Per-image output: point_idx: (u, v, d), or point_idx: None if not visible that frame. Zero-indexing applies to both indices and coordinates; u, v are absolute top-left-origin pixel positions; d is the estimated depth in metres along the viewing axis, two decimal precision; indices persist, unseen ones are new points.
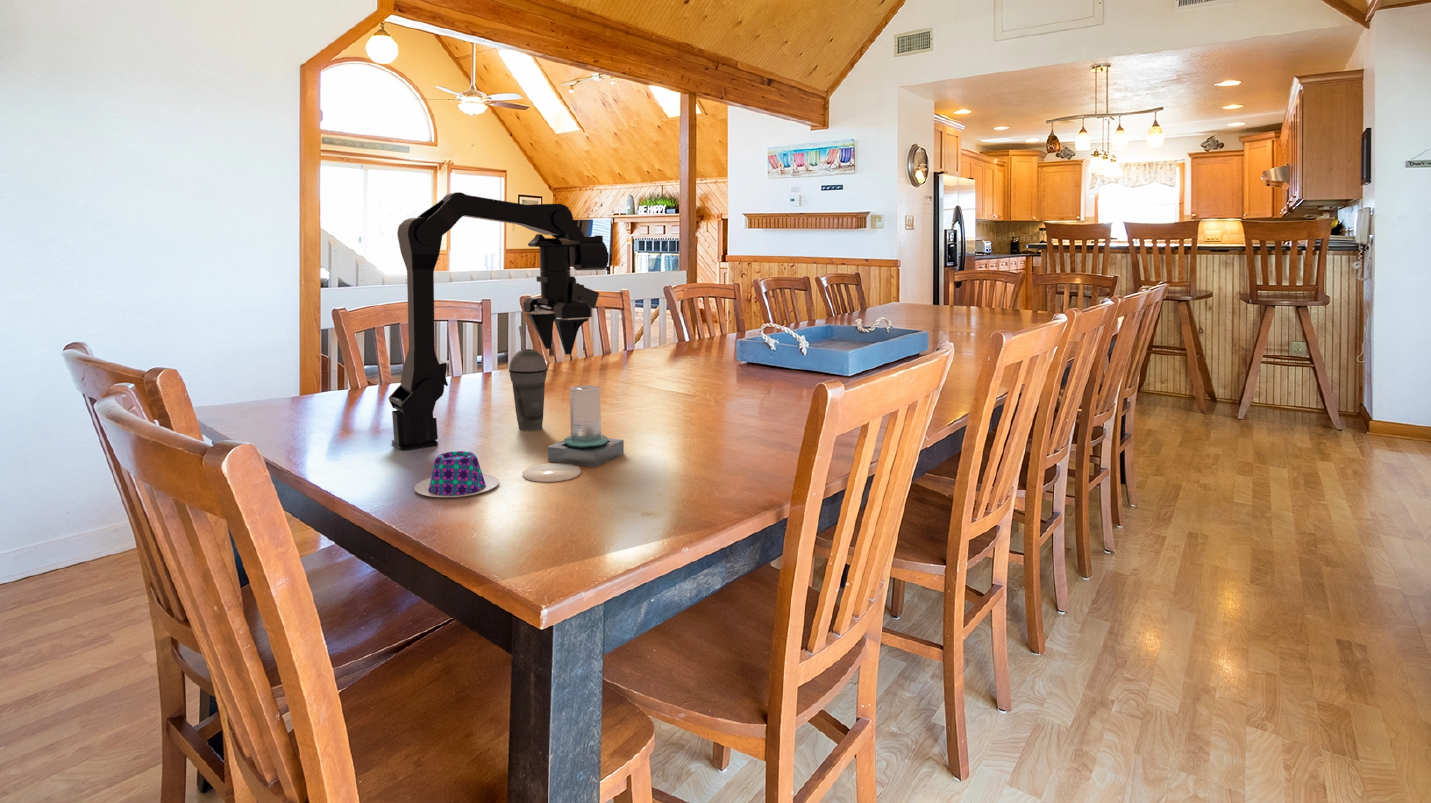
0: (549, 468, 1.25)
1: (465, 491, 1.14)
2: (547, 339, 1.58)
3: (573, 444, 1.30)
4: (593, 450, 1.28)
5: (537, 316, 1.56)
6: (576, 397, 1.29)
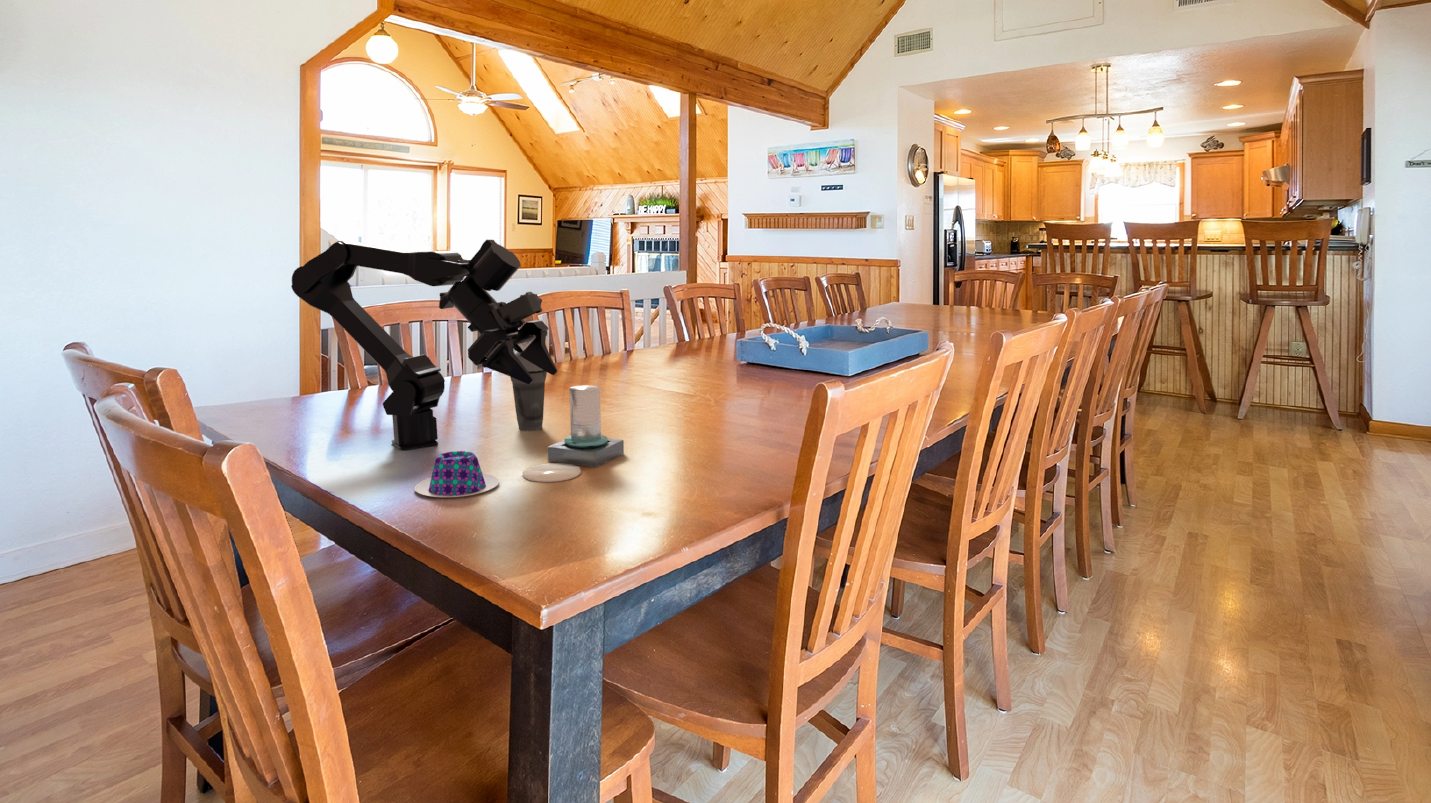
0: (549, 468, 1.25)
1: (465, 491, 1.14)
2: (547, 365, 1.37)
3: (573, 444, 1.30)
4: (593, 450, 1.28)
5: (524, 352, 1.38)
6: (576, 397, 1.29)
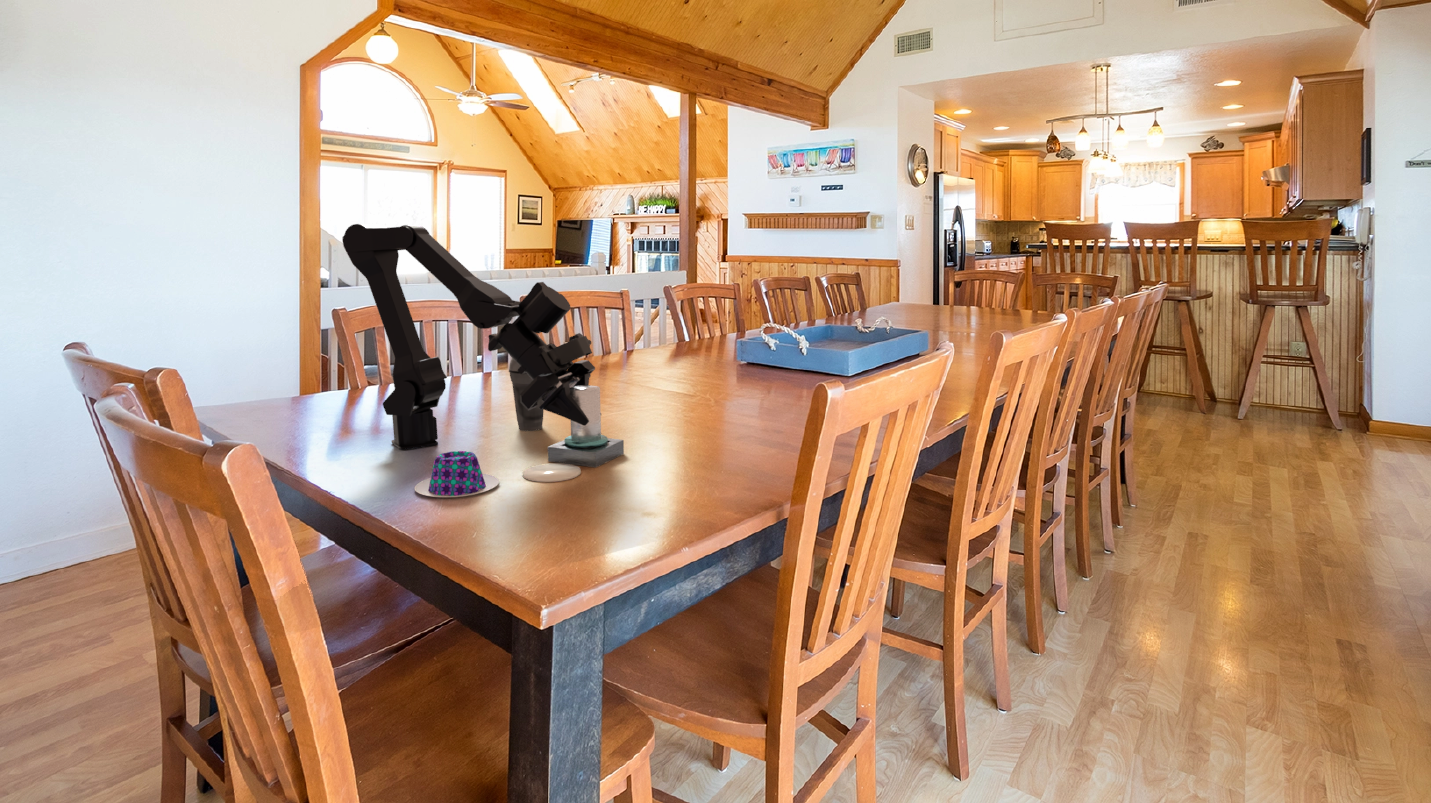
0: (549, 468, 1.25)
1: (463, 491, 1.14)
2: None
3: (573, 444, 1.30)
4: (593, 450, 1.28)
5: None
6: (576, 397, 1.29)
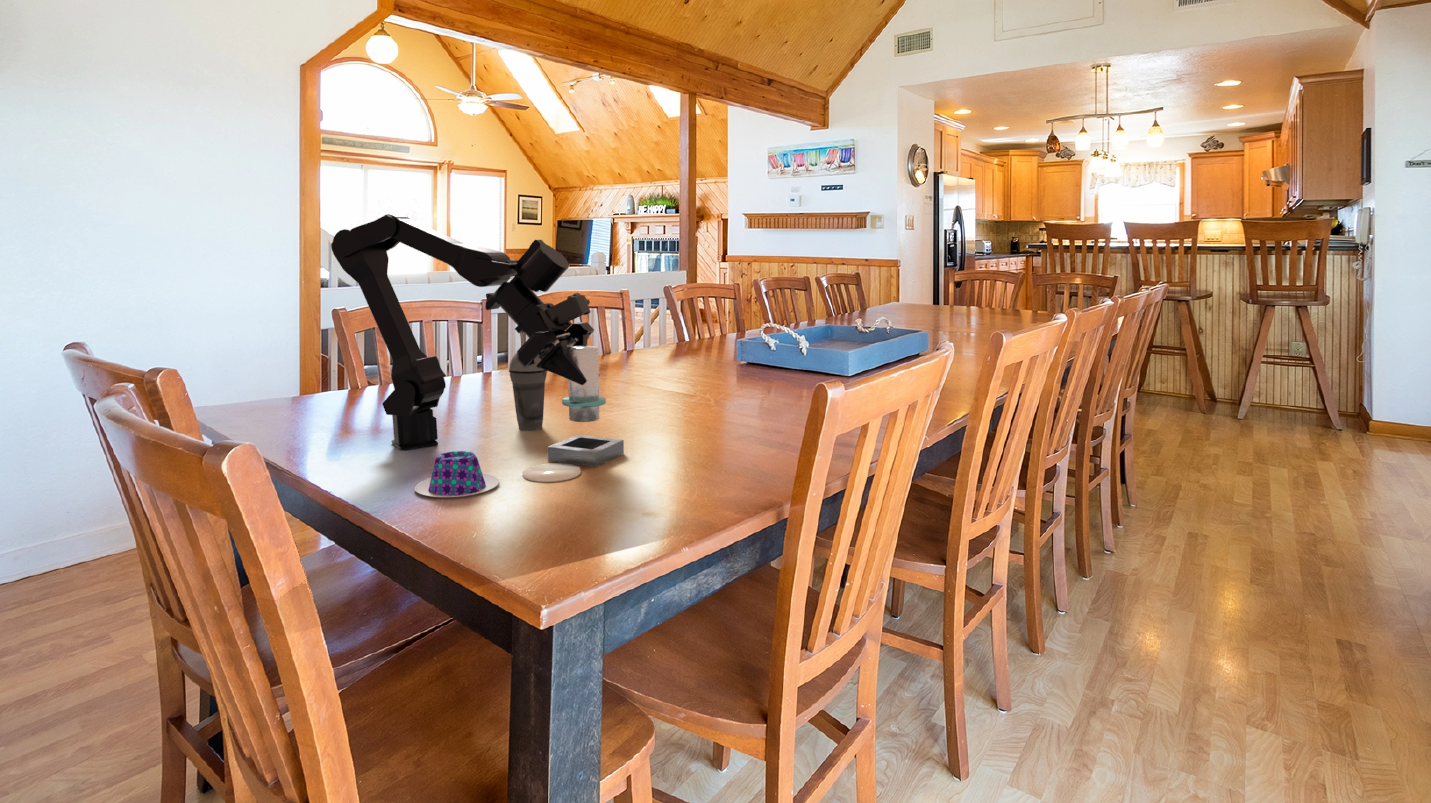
0: (549, 468, 1.25)
1: (464, 491, 1.14)
2: None
3: (571, 404, 1.28)
4: (593, 450, 1.28)
5: None
6: (574, 356, 1.27)
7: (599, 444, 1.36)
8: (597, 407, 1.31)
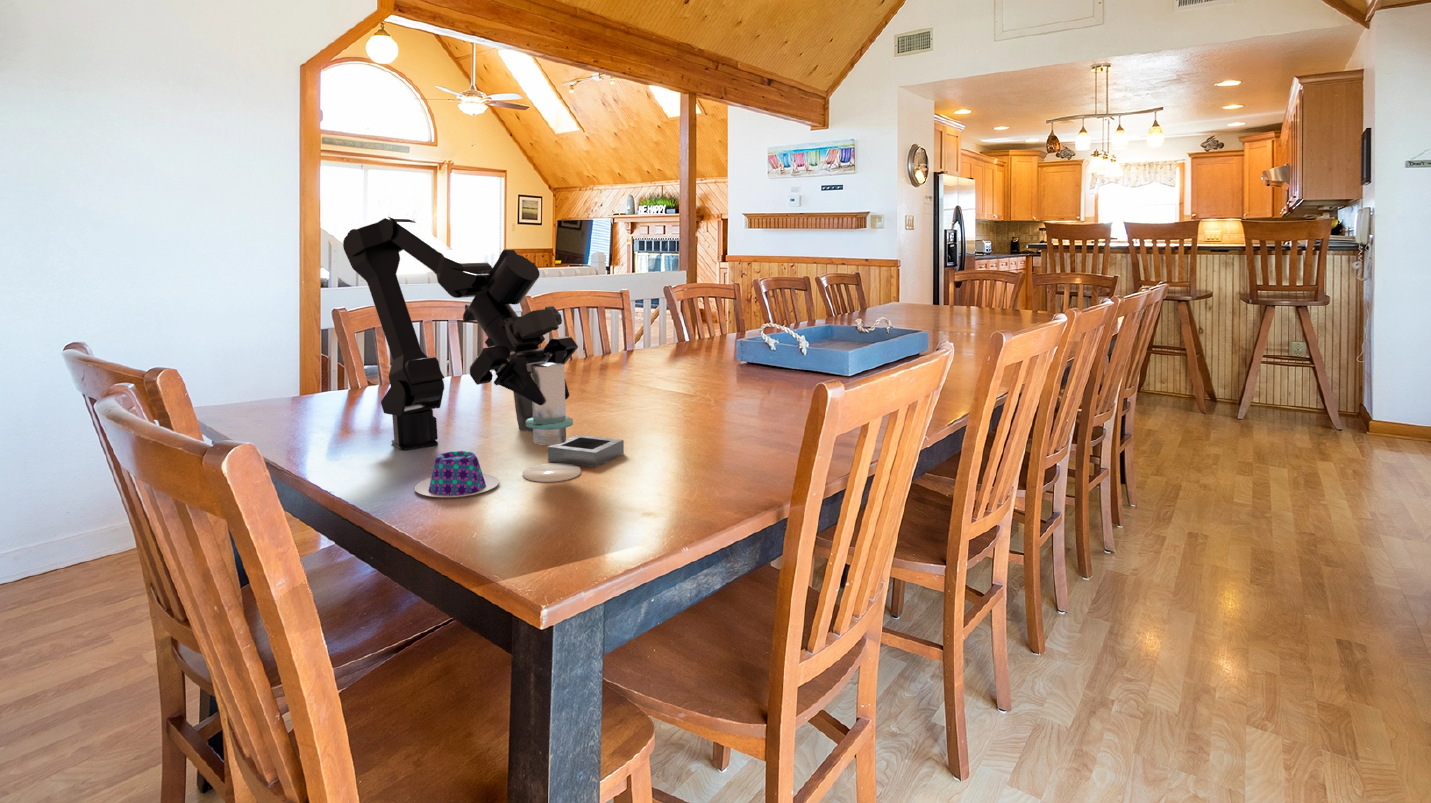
0: (549, 468, 1.25)
1: (465, 491, 1.14)
2: None
3: (529, 425, 1.20)
4: (593, 450, 1.28)
5: None
6: (534, 374, 1.19)
7: (599, 444, 1.36)
8: (560, 430, 1.21)
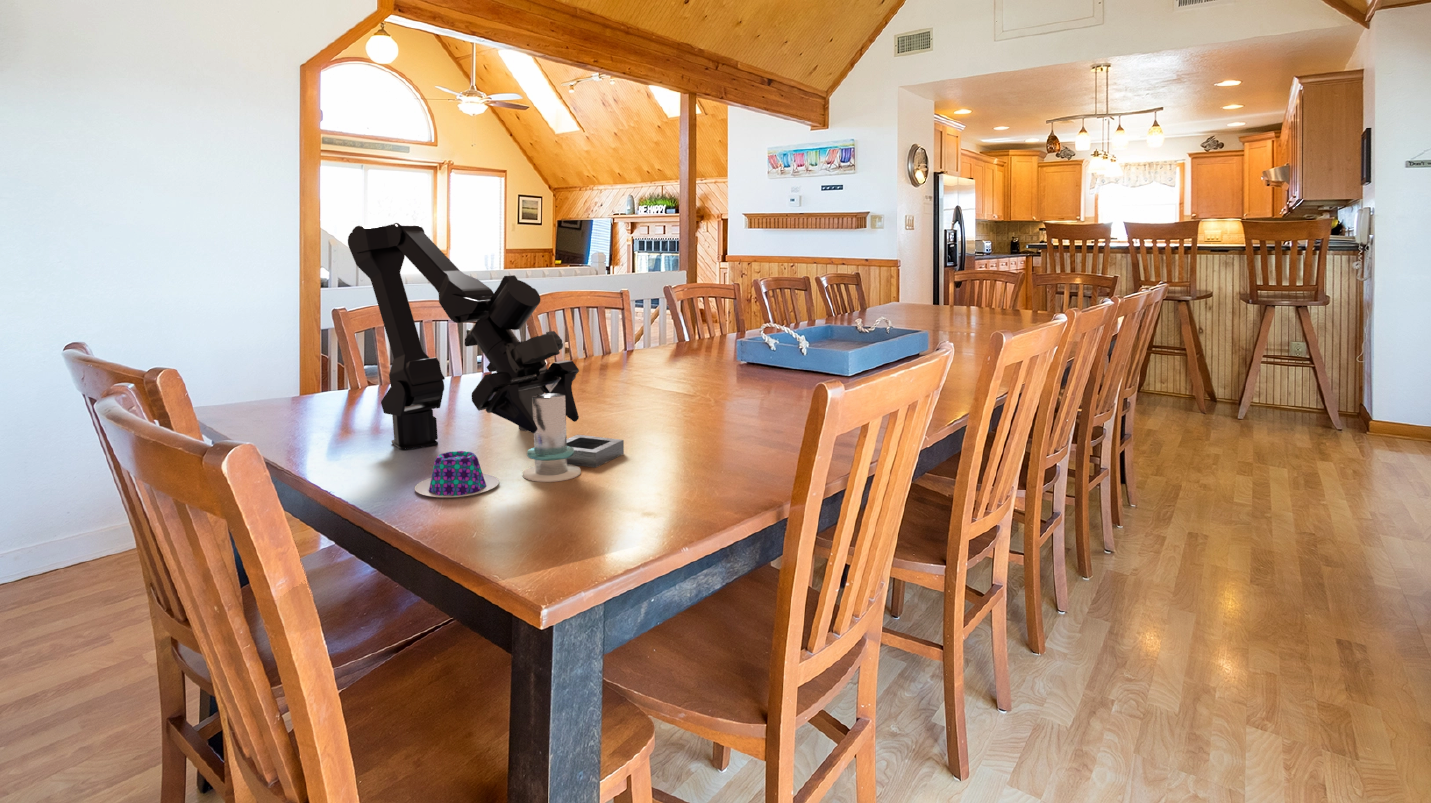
0: None
1: (466, 491, 1.14)
2: (569, 411, 1.26)
3: (531, 455, 1.21)
4: (593, 450, 1.28)
5: None
6: (535, 405, 1.20)
7: (599, 444, 1.36)
8: (561, 460, 1.22)
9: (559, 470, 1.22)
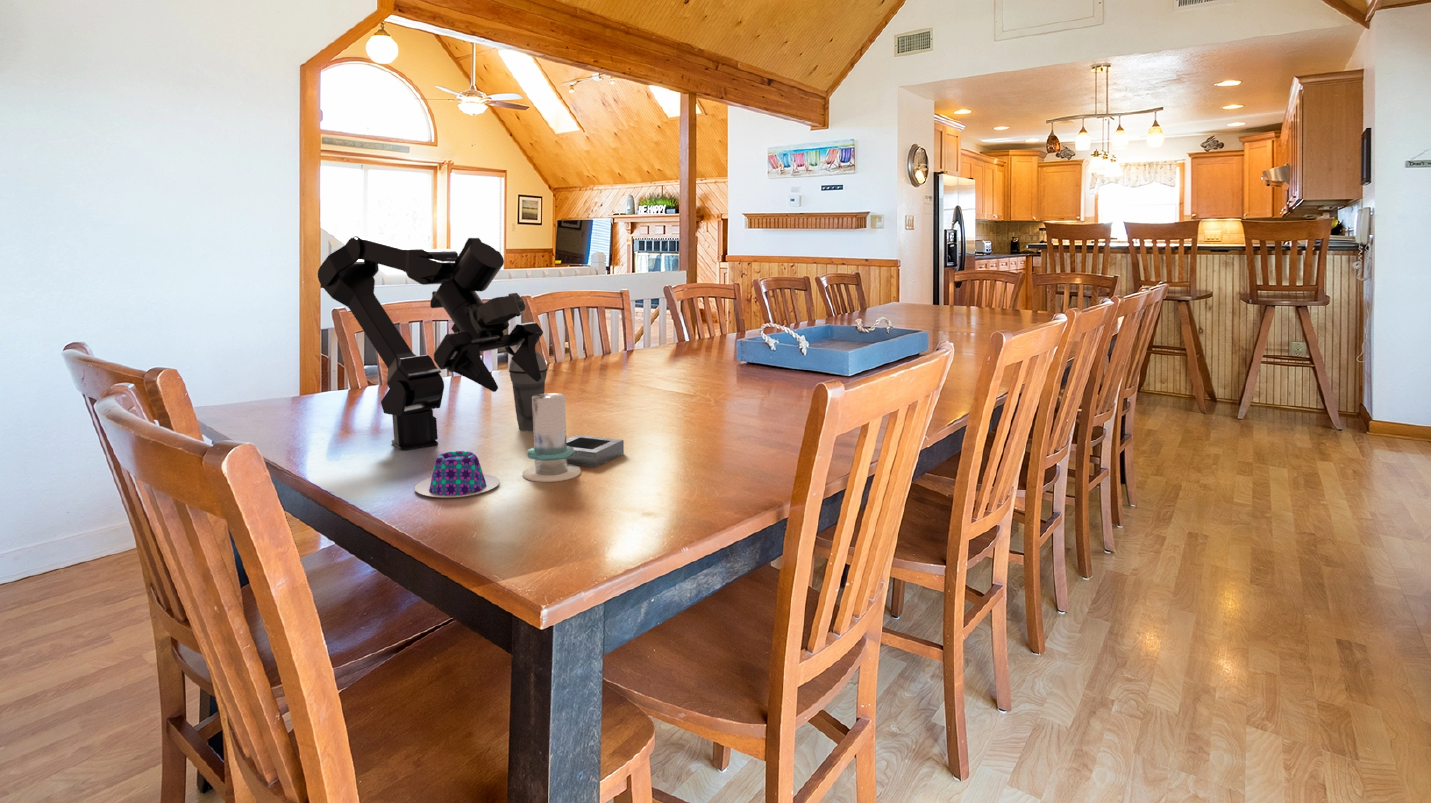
0: None
1: (468, 491, 1.14)
2: (532, 371, 1.29)
3: (531, 456, 1.21)
4: (593, 450, 1.28)
5: (515, 356, 1.32)
6: (535, 405, 1.20)
7: (599, 444, 1.36)
8: (561, 460, 1.22)
9: (559, 470, 1.22)
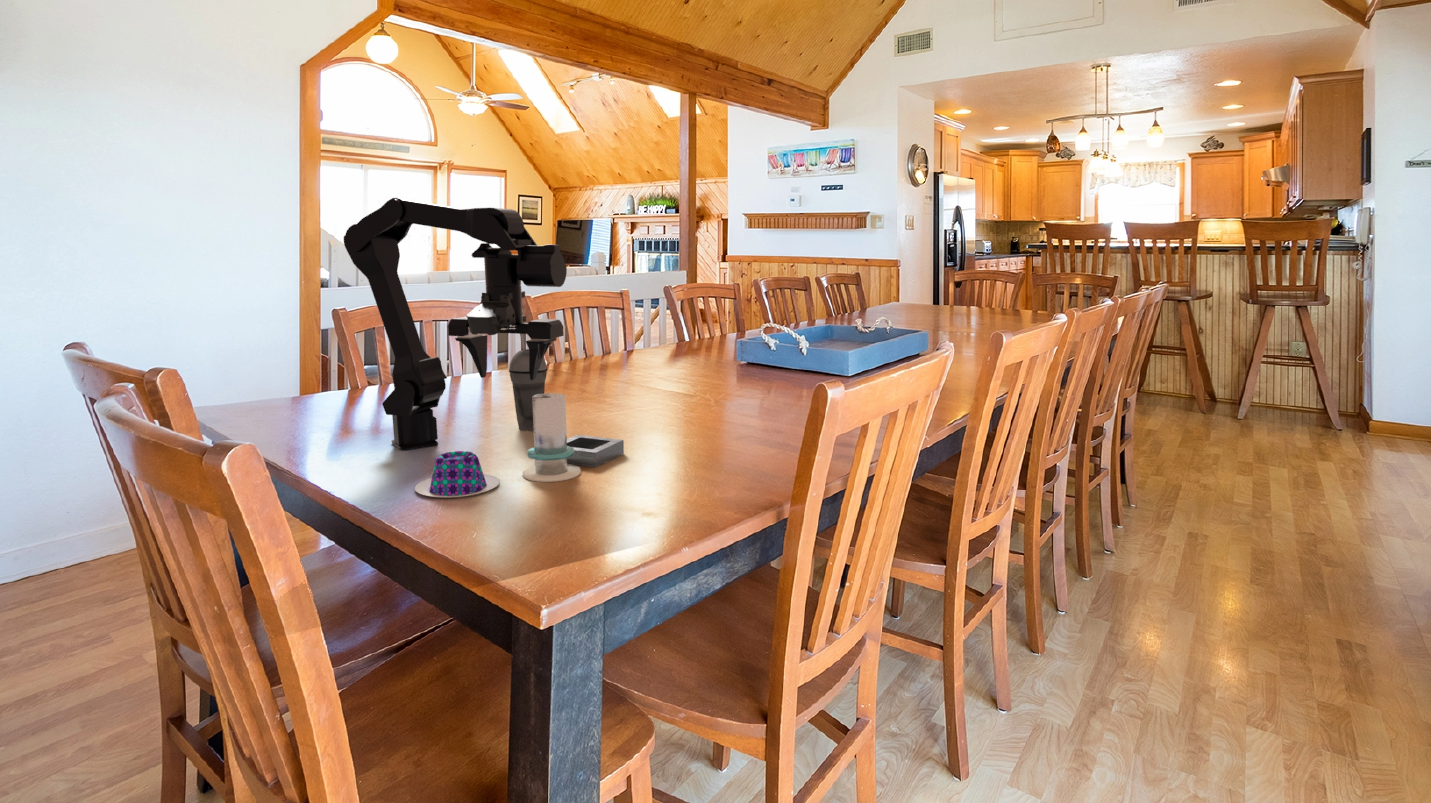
0: None
1: (470, 490, 1.14)
2: None
3: (531, 455, 1.21)
4: (593, 450, 1.28)
5: None
6: (536, 405, 1.20)
7: (599, 444, 1.36)
8: (561, 460, 1.22)
9: (559, 470, 1.22)
